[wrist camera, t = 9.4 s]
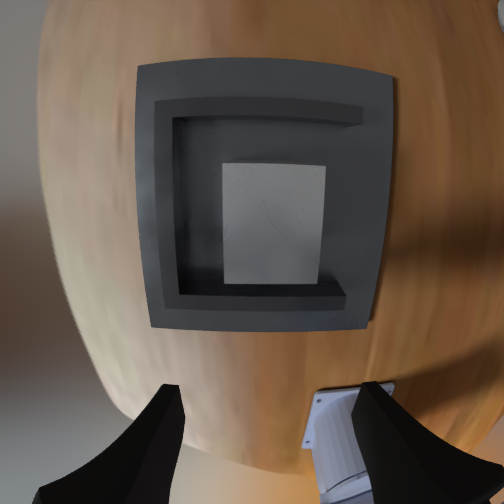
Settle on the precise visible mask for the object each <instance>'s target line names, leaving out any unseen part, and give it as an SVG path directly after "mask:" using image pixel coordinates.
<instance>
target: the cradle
mask: <svg viewBox="0 0 504 504" xmlns="http://www.w3.org/2000/svg"><path fill="white" fill-rule="evenodd" d="M392 148H393V78H392V76H391V75H387V74H383V73H378V72H374V71H369V70H364V69H359V68H353V67H347V66H341V65H335V64H327V63H320V62H311V61H301V60H289V59H274V58H207V59H191V60H180V61H170V62H161V63H154V64H147V65H140V66H138V71H137V86H136V107H135V177H136V199H137V215H138V228H139V239H140V249H141V259H142V267H143V275H144V283H145V290H146V297H147V304H148V310H149V316H150V322H151V327H154V328H167V329H183V330H203V331H233V332H304V331H333V330H352V329H367V325H368V321H369V317H370V312H371V308H372V303H373V299H374V294H375V289H376V284H377V278H378V273H379V267H380V262H381V255H382V249H383V243H384V236H385V228H386V220H387V212H388V203H389V193H390V181H391V167H392ZM230 160H282V161H302V162H307V163H312V164H318V165H323V166H326V172H325V193H324V210H323V224H322V237H321V249H320V260H319V270H318V280H317V284H224V257H223V189H222V163H225V162H227V161H230Z"/></svg>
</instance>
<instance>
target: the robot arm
mask: <svg viewBox="0 0 504 504" xmlns="http://www.w3.org/2000/svg"><path fill="white" fill-rule="evenodd" d="M394 388H395V386H394V384H393V383H385V384H378V383H377V382H376V381H372V382H364V383H362V385H361V387H356V388H347V389H337V390H325V391H318V392H316V393H315V394H314V398H313V402H312V406H311V410H310V414H309V419H308V423H307V426H306V430H305V434H304V438H303V442H302V448H304V449H309V448H311V450H312V456H313V461H314V467H315V473H316V479H317V484H318V489H319V491H320V493H321V495H319V496H320V503H321V504H491V503H490V501H489V499H490V498H491V497H493V496H494V495H495V494H496V493H498V492H499V491H500V490H501V489H502V488H503V487H504V467H503V466H502V465H500V464H496V463H493V462H489V461H486V460H483V459H480V458H477V457H475V456H472V455H470V454H468V453H466V452H463V451H461V450H459V449H458V448H456V447H454V446H452V445H450V444H449V443H447V442H445V441H444V440H442V439H441V438H439V437H438V436H436V435H435V434H433V433H432V432H430V431H429V430H428V429H427V428H425V427H424V426H423V425H422V424H420V423H419V422H418V421H417V420H416V419H414V418H413V417H412V416H411V415H410V414H409V413H408V412H407V411H406V410H405V409H403V408H402V407H401V406H400V405H399V404H398V403H397V402H396V401H395V400H394V399H393V398H392V397H391V395H392V392H393V390H394ZM318 399H319V400H318ZM184 425H185V413H184V408H183V404H182V399H181V394H180V389H179V385H171V384H163V385H161V387H160V388H159V390H158V391H157V393H156V394H155V395H154V397H153V398H152V399H151V401H150V402H149V403H148V405H147V406H146V407H145V408H144V410H143V411H142V412H141V413H140V414H139V416H138V417H137V418H136V419H135V420H134V422H133V423H132V424H131V425H130V426H129V427H128V428H127V429H126V430H125V431H124V432H123V433H122V434H121V436H119V437H118V438H117V439H116V440H115V441H114V442H113V443H112V444H111V445H110V446H109V447H108V448H106V449H105V450H104V451H103V452H102V453H100V454H99V455H98V456H96V457H95V458H94V459H92V460H91V461H90V462H88V463H87V464H85V465H84V466H82V467H80V468H79V469H77V470H75V471H74V472H72V473H70V474H68V475H66V476H65V477H63V478H61V479H58V480H56V481H54V482H51V483H49V484H47V485H44V486H42V487H40V488H39V489H38V491H37V493H36V495H35V497H34V500H33V502H32V504H169V496H170V488H171V483H172V479H173V475H174V470H175V467H176V463H177V459H178V455H179V451H180V448H181V444H182V439H183V433H184ZM501 504H504V502H503V503H501Z"/></svg>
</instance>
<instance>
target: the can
mask: <svg viewBox="0 0 504 504" xmlns="http://www.w3.org/2000/svg"><path fill="white" fill-rule="evenodd" d="M498 19H499V22H500V26H501V28H502V30H503V33H504V0H500V1H499V3H498Z"/></svg>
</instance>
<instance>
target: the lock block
mask: <svg viewBox="0 0 504 504" xmlns="http://www.w3.org/2000/svg"><path fill="white" fill-rule="evenodd" d="M325 172H326V166H323V165H318V164H312V163H307V162H302V161H282V160H230V161H227V162H225V163H222V189H223V257H224V284H317V280H318V270H319V260H320V249H321V237H322V224H323V210H324V193H325Z"/></svg>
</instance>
